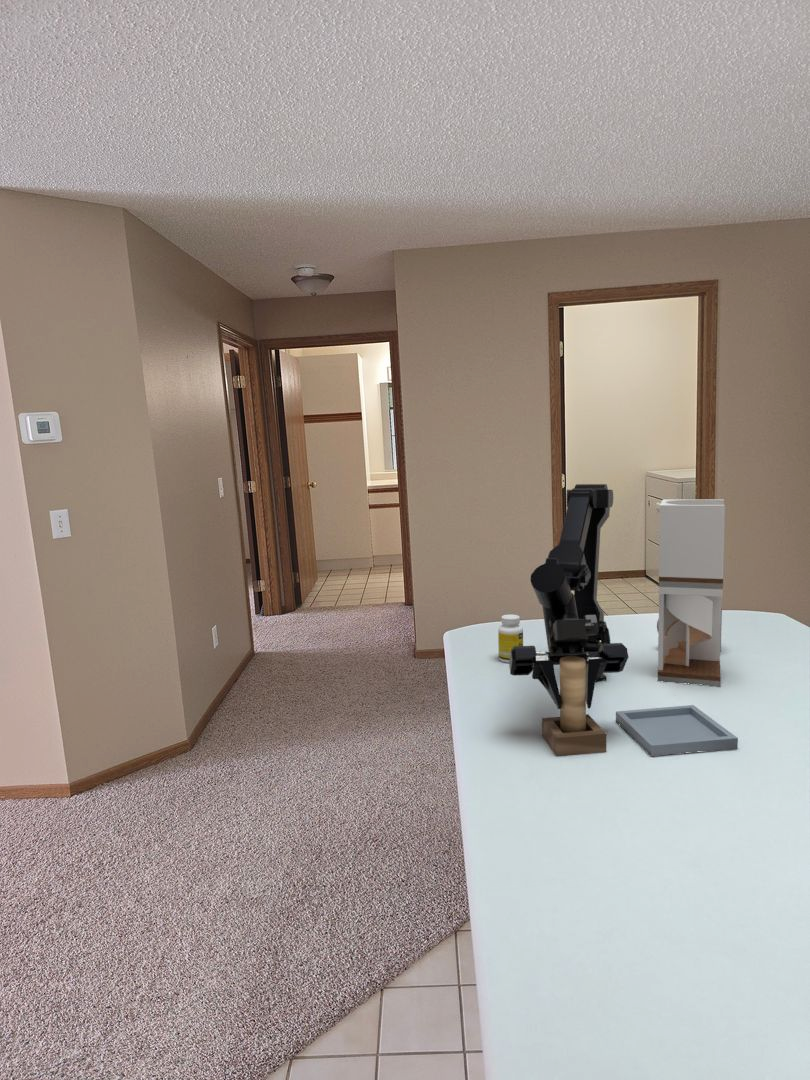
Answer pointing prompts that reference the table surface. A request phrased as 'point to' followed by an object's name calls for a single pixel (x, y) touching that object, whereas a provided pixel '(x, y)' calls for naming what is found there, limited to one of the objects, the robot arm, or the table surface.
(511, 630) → the supplement bottle
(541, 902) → the table surface
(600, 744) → the walnut holder
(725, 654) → the table surface
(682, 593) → the spiral staircase model
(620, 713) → the plastic tray
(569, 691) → the oak dowel
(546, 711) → the table surface
